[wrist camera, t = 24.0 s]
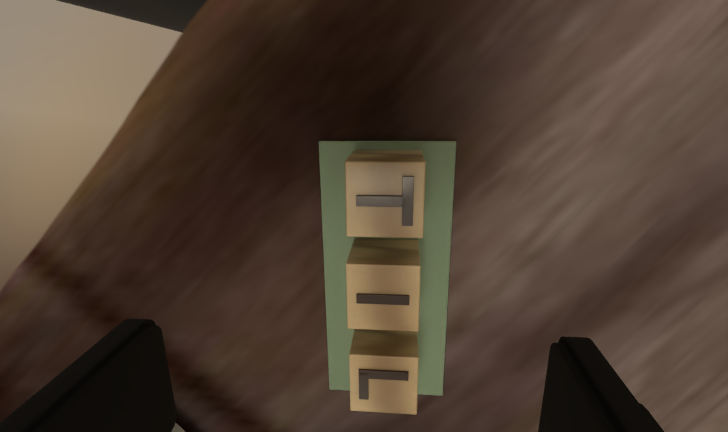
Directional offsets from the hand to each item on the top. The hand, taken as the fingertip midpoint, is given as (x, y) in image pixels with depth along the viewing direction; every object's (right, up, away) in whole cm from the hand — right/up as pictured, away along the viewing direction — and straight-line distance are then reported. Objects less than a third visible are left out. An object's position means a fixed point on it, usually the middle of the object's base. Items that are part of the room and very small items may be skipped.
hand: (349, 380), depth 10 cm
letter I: (+2, 0, +23) cm, 23 cm away
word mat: (+2, -1, +24) cm, 24 cm away
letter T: (+2, +6, +21) cm, 22 cm away
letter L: (+2, -7, +25) cm, 26 cm away
